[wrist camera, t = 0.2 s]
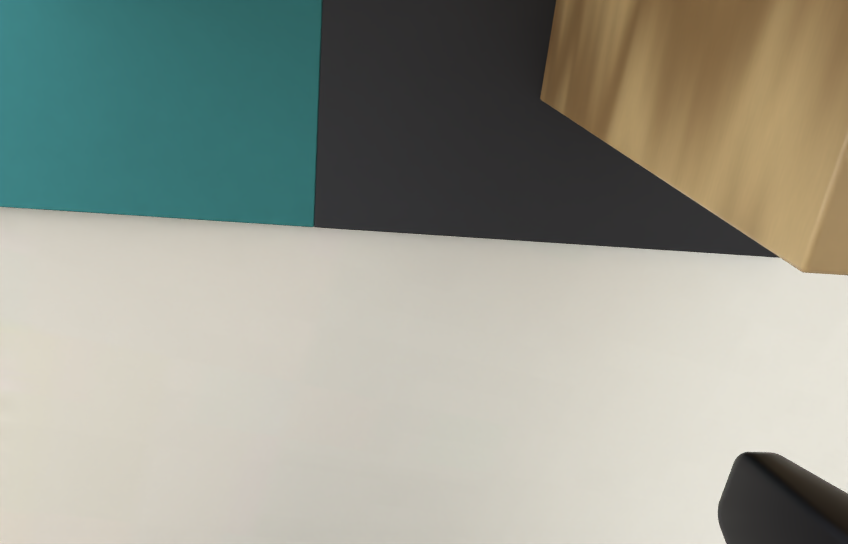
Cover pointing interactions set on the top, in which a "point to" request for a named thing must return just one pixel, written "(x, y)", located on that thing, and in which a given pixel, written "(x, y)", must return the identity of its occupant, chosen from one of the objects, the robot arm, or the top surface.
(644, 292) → the top surface
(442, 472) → the top surface
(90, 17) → the runner mat
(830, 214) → the maple block
